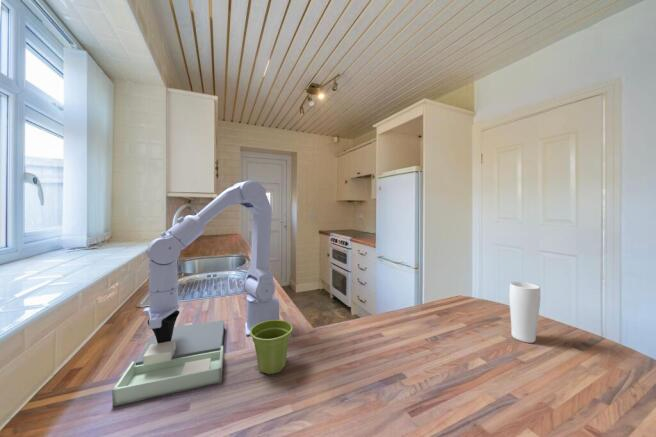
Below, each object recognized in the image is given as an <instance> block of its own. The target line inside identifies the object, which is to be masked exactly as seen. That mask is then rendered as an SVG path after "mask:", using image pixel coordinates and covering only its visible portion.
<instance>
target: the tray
mask: <svg viewBox="0 0 656 437" xmlns="http://www.w3.org/2000/svg"><path fill="white" fill-rule="evenodd" d="M208 358H211V369H207V370H202V371H197V372H192V373H187V374H182V371H183V368H184V365H185V363H187V362H192V361H197V360H203V359H208ZM223 365H224V345H222V346H221V350H219V351H214V352H208V353H203V354H197V355H192V356H186V357H181V358H175V359H171V361H166V362H161V363H155V364H150V365H144V366H143V364H142V365H136V361H135V360H134V361H131V362H130V364H129V366H128V367H127V368H126V370H125V371H124V372H123V374H122V376H121V377H120V378H119V380H118V381H117V383H116V384H115V386H114V387H113V389H111V390H112V392H111V394H112V407H116V406H120V405H121V406H122V405H126V404H130V403H135V402H138V401H143V400H147V399H153V398H157V397H162V396H165V395H170V394H175V393H180V392H184V391H185V392H186V391H188V390H193V389H198V388H201V387H202V388H203V387H207V386H212V385H216V384H221V383H222V380H223V379H222V378H223V367H224V366H223ZM181 374H182V375H181Z"/></svg>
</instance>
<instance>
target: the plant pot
mask: <svg viewBox="0 0 656 437" xmlns="http://www.w3.org/2000/svg"><path fill="white" fill-rule="evenodd" d="M292 331H293V325H292V323H290V322H289V321H286V320H283V319H279V320H268V321H264V322H261V323H258V324H256V325H255V326H253V327H252V328H251V330H250V335H249V336H250V337H251V338H252V342H253V343H254V350H255V355H256V362H257V368H258V370H259V372H260V373H265V374H266V375H271V374H272V375H274V374H277V373H280V372H281V371H282V370H283V369H284V368H285V367H286V365H287V357H288V348H289V340H290V337H291V333H292Z"/></svg>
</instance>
